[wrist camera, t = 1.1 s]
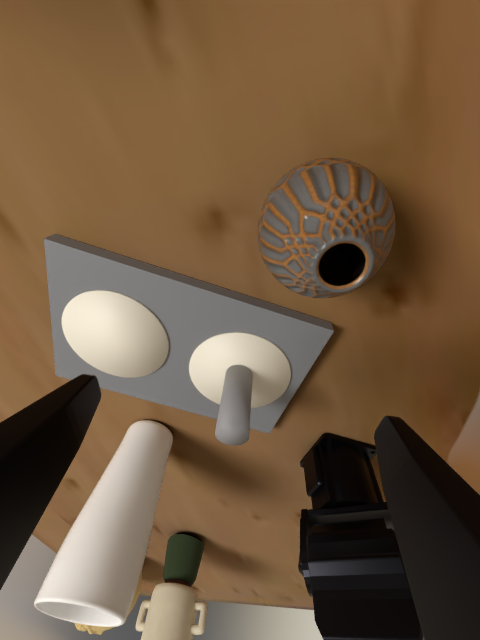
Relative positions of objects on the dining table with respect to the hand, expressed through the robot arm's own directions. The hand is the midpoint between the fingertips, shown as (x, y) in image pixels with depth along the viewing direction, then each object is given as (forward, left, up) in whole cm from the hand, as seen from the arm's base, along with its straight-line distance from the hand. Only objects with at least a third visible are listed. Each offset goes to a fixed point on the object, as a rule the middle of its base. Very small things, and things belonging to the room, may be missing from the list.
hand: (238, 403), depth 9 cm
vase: (-3, -4, -14) cm, 14 cm away
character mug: (-6, +52, -14) cm, 54 cm away
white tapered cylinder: (+4, +24, -14) cm, 28 cm away
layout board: (+3, +10, -13) cm, 17 cm away
